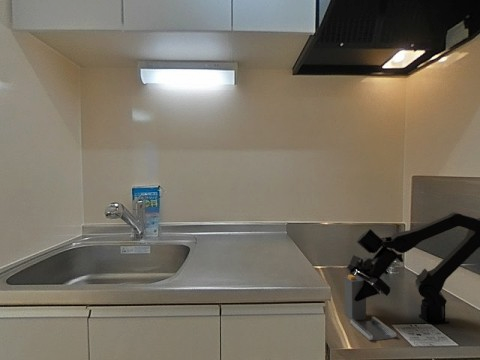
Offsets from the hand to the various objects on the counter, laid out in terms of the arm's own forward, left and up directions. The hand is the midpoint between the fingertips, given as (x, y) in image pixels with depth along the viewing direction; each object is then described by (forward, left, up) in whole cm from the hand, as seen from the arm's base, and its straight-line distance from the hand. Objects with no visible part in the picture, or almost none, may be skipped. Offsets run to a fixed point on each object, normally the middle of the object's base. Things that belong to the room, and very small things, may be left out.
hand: (351, 297), depth 109 cm
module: (-1, 0, -7) cm, 7 cm away
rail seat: (-1, +10, -7) cm, 12 cm away
